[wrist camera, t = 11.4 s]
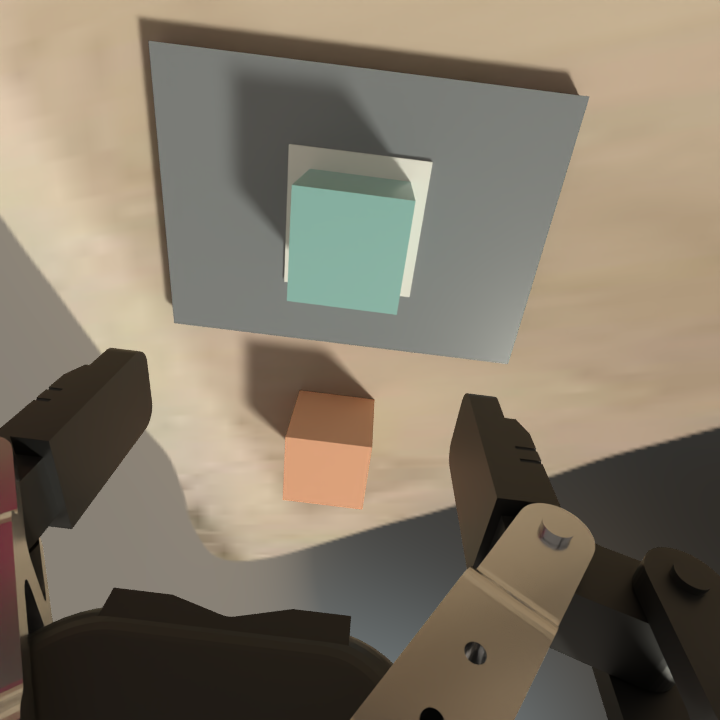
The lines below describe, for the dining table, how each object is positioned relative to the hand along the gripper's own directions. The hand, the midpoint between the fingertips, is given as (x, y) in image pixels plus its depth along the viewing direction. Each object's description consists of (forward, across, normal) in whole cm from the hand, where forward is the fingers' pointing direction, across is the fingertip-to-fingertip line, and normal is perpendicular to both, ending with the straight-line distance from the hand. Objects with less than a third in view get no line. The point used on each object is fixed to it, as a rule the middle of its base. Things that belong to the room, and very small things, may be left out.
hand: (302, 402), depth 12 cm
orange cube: (+16, 0, +13) cm, 21 cm away
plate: (+16, 0, -1) cm, 16 cm away
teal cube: (+15, 0, -1) cm, 15 cm away
